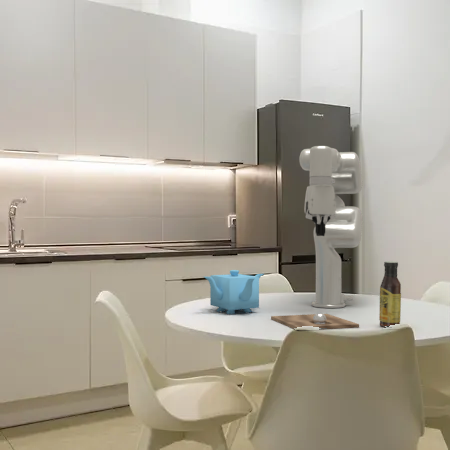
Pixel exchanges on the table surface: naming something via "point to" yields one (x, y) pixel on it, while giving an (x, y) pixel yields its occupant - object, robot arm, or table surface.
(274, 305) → the table surface
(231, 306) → the teakettle
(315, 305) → the robot arm
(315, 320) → the steel ball
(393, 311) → the sauce bottle
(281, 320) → the walnut board
